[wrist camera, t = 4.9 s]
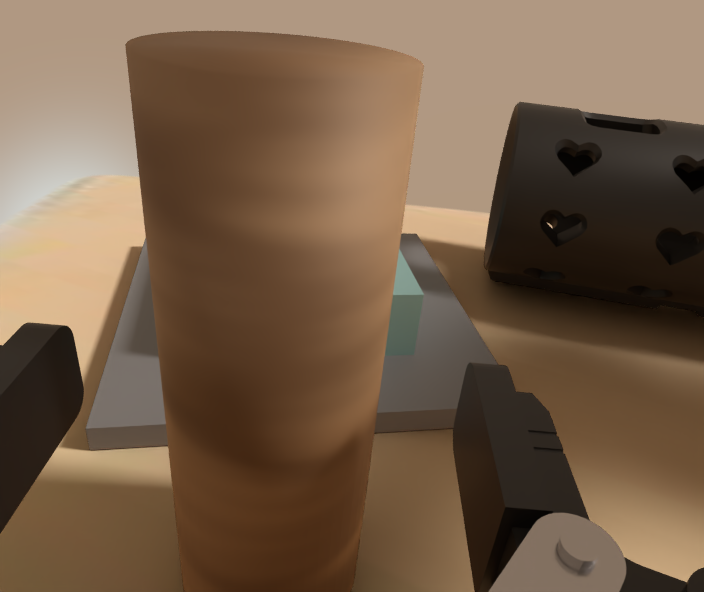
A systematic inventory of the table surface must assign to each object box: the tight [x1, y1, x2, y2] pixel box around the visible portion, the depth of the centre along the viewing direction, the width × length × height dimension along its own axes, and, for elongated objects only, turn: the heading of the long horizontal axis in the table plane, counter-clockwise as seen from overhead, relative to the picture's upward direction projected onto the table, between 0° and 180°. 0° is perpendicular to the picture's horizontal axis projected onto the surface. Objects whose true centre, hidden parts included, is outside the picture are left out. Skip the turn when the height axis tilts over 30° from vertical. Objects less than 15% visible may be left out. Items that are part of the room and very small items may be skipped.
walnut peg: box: [126, 31, 424, 592], centre depth 14 cm, size 5×5×14 cm
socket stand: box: [86, 234, 498, 450], centre depth 27 cm, size 16×16×4 cm
